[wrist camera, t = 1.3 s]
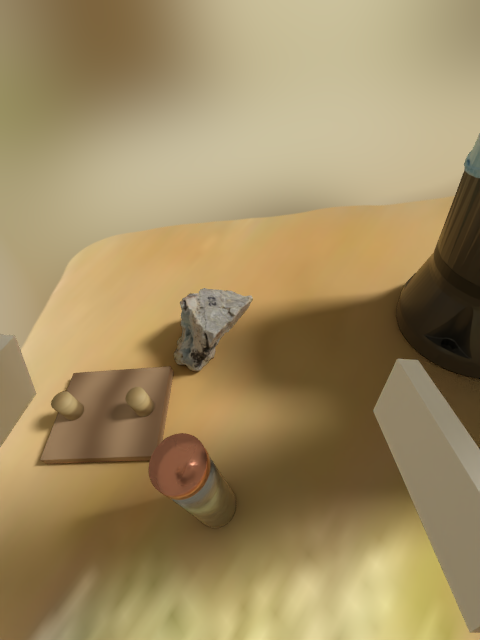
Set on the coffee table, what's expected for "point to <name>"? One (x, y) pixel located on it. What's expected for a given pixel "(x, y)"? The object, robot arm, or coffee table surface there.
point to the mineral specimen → (206, 324)
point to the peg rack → (110, 416)
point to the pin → (192, 480)
